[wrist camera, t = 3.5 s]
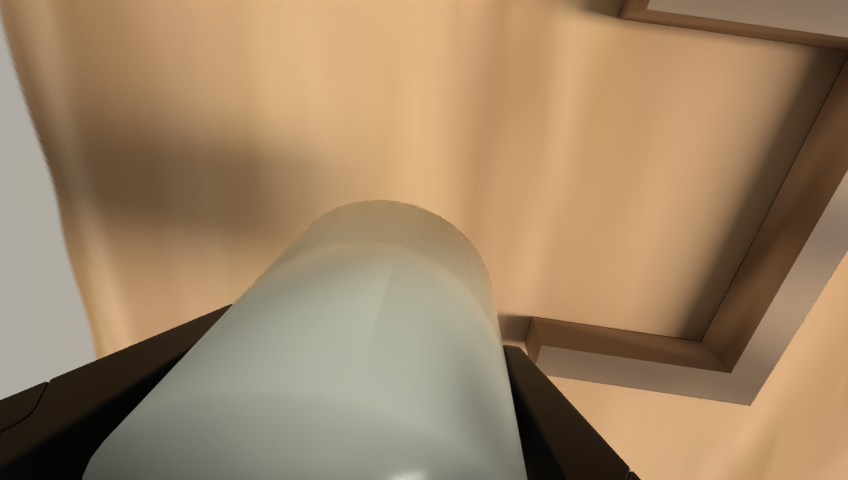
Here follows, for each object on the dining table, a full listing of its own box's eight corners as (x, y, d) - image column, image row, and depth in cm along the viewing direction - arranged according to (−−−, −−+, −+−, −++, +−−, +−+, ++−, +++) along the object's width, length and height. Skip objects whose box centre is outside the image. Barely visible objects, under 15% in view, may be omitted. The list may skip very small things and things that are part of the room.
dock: (719, 371, 20) (750, 405, 18) (524, 342, 20) (533, 373, 18) (923, 6, 13) (1008, -6, 11) (634, -35, 13) (666, -53, 11)
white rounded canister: (471, 397, 11) (489, 701, 6) (282, 368, 11) (124, 643, 6) (514, 218, 9) (609, 440, 4) (278, 183, 9) (21, 350, 4)
